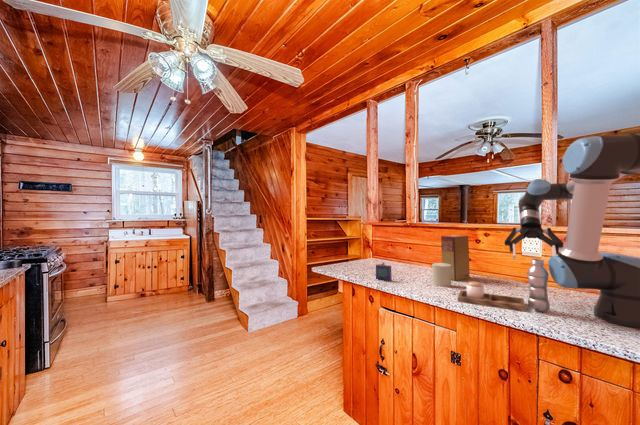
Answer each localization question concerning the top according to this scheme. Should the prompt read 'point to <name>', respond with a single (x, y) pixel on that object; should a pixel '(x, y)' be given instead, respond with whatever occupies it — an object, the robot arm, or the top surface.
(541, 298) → the plastic bottle
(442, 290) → the top surface
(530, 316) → the top surface
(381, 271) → the flask
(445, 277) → the can
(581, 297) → the top surface
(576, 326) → the top surface
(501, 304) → the caddy
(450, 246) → the food packaging
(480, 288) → the jar
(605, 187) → the robot arm
